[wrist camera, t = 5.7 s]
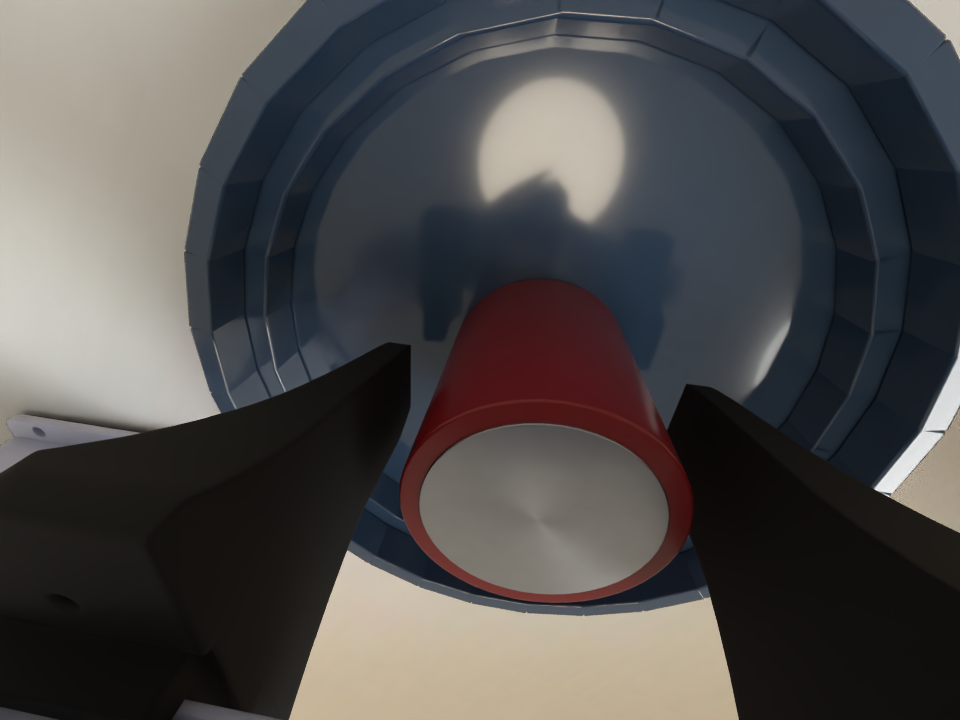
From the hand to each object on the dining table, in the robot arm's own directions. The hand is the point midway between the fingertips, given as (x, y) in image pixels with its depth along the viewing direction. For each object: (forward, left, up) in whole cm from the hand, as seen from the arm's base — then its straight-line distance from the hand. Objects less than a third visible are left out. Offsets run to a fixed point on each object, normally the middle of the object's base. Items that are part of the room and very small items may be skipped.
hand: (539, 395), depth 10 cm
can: (0, 0, -2) cm, 2 cm away
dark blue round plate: (0, 0, -2) cm, 2 cm away
